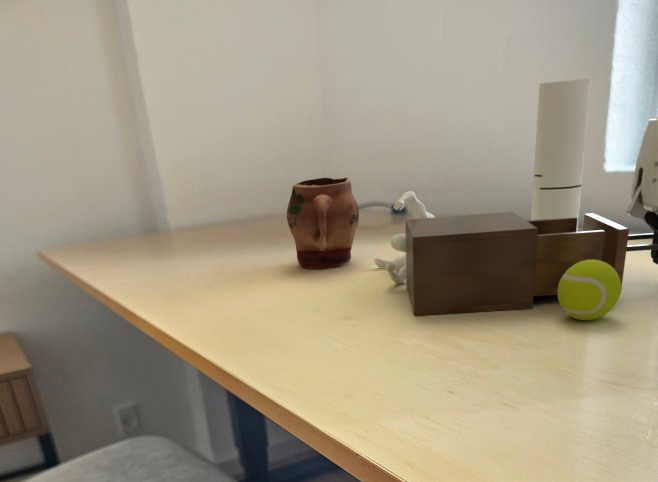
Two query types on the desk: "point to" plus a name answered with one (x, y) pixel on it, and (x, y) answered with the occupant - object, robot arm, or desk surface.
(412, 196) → the person figurine
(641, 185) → the robot arm
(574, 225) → the drawer
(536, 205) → the cylindrical container
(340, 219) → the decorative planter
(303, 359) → the desk surface
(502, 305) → the cabinet
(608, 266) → the tennis ball
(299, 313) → the desk surface
